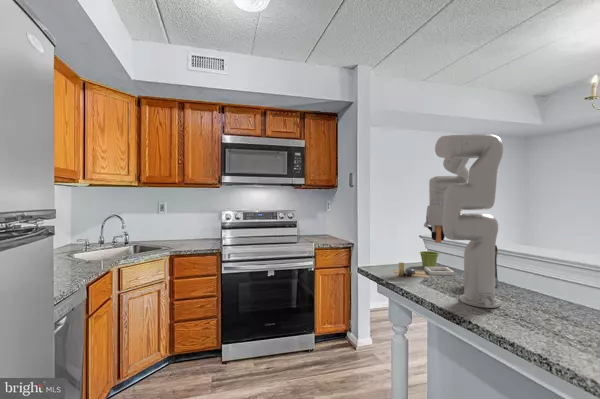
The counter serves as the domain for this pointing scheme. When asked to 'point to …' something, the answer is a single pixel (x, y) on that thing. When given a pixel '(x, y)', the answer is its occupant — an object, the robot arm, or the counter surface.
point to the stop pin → (438, 233)
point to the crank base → (409, 274)
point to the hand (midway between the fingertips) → (438, 239)
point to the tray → (446, 272)
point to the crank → (404, 273)
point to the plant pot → (429, 258)
